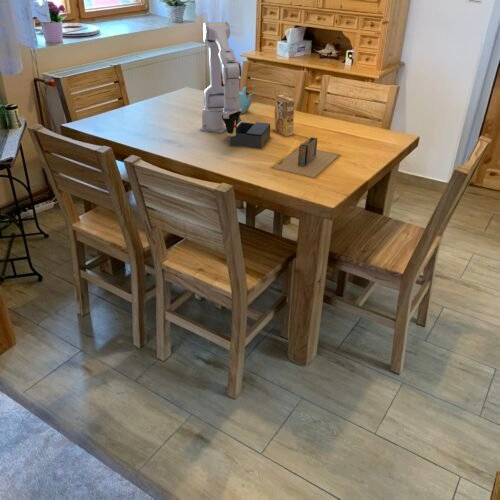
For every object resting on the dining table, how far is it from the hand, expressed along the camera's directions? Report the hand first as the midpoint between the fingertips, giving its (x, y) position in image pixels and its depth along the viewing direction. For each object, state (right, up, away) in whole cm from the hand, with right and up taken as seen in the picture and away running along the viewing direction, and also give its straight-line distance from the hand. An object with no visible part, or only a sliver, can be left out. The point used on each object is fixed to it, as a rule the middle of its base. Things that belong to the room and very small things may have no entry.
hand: (231, 131), depth 196 cm
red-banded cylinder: (0, -1, +1) cm, 1 cm away
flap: (0, +7, +10) cm, 12 cm away
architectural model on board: (+29, -13, -5) cm, 32 cm away
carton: (+8, -1, +13) cm, 15 cm away
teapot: (+1, +22, +50) cm, 54 cm away
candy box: (+22, +5, +23) cm, 32 cm away
